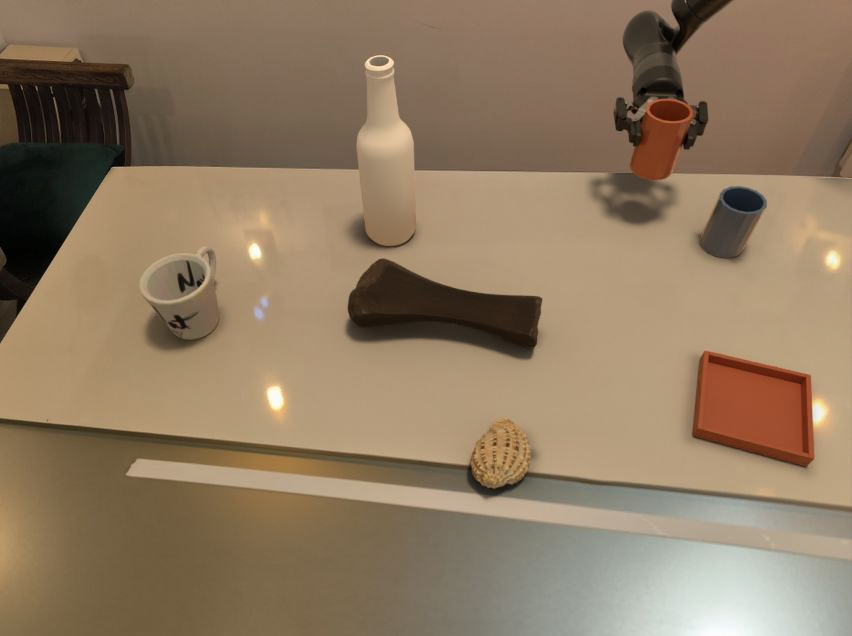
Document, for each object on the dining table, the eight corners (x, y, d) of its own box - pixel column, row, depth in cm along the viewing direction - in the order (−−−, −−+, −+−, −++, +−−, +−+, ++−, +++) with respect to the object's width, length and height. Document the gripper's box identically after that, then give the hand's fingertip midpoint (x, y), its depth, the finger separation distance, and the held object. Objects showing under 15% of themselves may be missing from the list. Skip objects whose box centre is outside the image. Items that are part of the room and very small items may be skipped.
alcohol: (367, 215, 109) (349, 47, 86) (416, 214, 108) (411, 44, 85) (364, 248, 104) (344, 79, 80) (415, 247, 103) (410, 76, 80)
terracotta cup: (674, 159, 99) (695, 101, 91) (670, 183, 95) (691, 125, 87) (632, 153, 101) (648, 96, 93) (627, 176, 97) (643, 119, 89)
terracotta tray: (803, 383, 82) (811, 374, 80) (806, 466, 75) (814, 459, 73) (699, 358, 86) (704, 350, 84) (692, 436, 78) (697, 428, 77)
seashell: (467, 448, 82) (471, 497, 73) (468, 410, 80) (472, 456, 71) (525, 449, 82) (536, 498, 73) (528, 411, 79) (540, 458, 70)
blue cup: (743, 235, 100) (767, 190, 93) (742, 261, 97) (766, 217, 90) (700, 227, 102) (720, 182, 95) (698, 253, 98) (718, 208, 91)
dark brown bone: (349, 328, 95) (525, 367, 93) (340, 314, 85) (538, 358, 82) (365, 263, 97) (539, 300, 94) (358, 241, 87) (554, 282, 84)
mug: (150, 340, 94) (124, 295, 86) (196, 273, 102) (176, 228, 94) (209, 353, 91) (189, 309, 84) (251, 284, 100) (236, 238, 92)
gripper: (617, 62, 100) (619, 117, 90) (710, 65, 97) (723, 123, 88) (607, 104, 106) (608, 161, 96) (695, 109, 103) (705, 167, 93)
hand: (662, 142), depth 92 cm, fingers closed on terracotta cup, 7 cm apart
